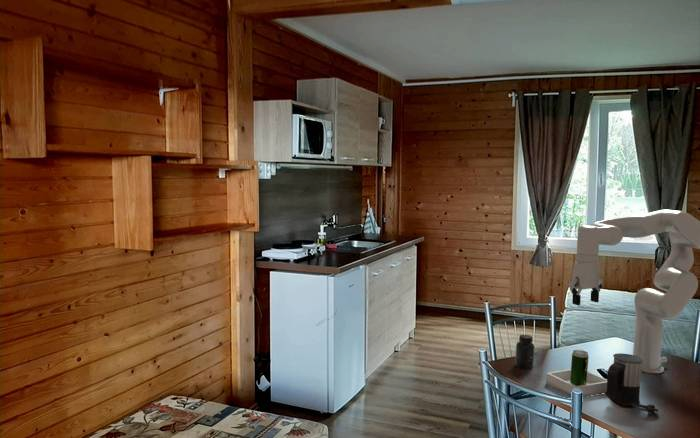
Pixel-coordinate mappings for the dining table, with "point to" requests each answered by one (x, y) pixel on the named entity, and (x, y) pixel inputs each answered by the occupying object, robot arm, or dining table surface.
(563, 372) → the tray
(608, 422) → the dining table surface
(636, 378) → the milk frother
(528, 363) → the supplement bottle
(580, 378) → the beer can
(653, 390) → the dining table surface
